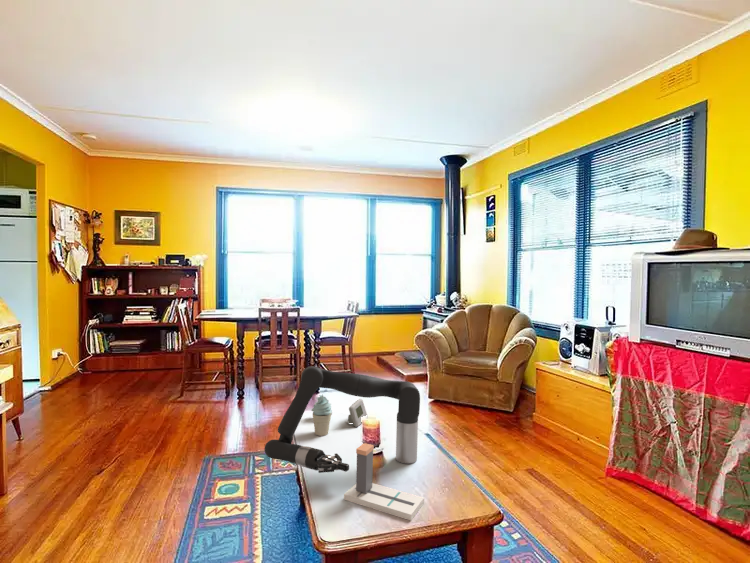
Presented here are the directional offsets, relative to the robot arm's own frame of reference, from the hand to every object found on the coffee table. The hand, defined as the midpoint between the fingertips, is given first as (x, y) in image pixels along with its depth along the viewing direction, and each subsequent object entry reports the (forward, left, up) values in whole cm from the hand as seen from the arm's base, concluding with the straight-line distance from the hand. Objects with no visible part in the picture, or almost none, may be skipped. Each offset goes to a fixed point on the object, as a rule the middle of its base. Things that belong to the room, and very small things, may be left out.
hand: (348, 468), depth 160 cm
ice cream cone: (-40, -39, -9) cm, 56 cm away
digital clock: (-63, -30, -9) cm, 70 cm away
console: (0, +15, -9) cm, 17 cm away
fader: (0, +7, -6) cm, 9 cm away
